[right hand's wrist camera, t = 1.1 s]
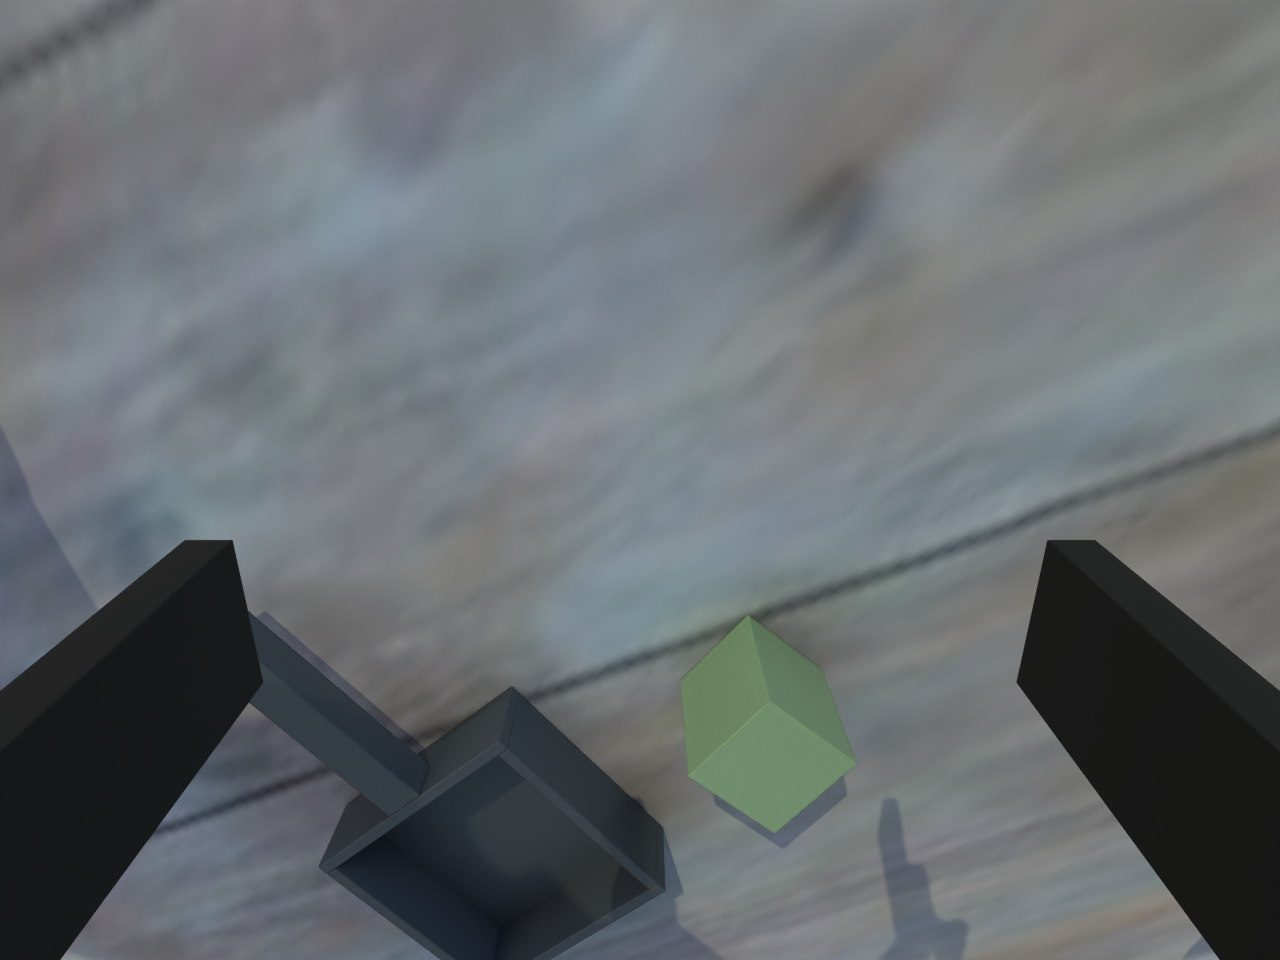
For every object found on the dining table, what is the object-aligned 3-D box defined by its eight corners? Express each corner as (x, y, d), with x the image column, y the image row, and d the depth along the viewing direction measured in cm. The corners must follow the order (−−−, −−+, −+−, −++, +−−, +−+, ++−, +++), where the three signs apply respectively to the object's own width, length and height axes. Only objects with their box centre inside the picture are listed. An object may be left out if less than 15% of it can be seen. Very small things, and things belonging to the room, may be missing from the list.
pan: (663, 827, 42) (665, 891, 38) (501, 928, 45) (488, 997, 41) (313, 499, 35) (274, 539, 31) (145, 644, 37) (91, 697, 34)
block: (822, 669, 38) (857, 764, 32) (753, 732, 40) (774, 834, 34) (747, 614, 37) (769, 701, 31) (679, 681, 38) (687, 777, 32)
